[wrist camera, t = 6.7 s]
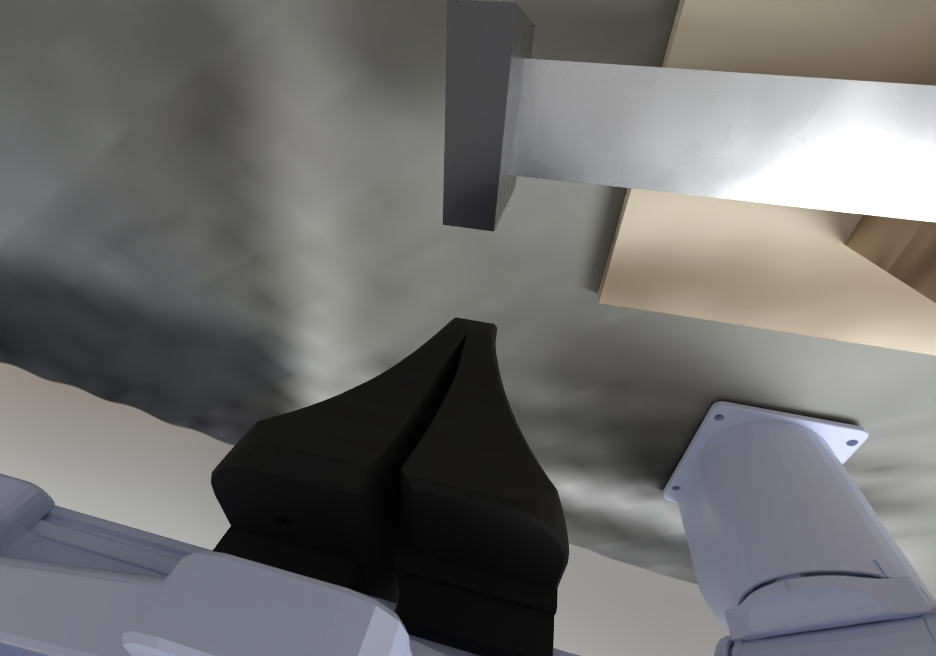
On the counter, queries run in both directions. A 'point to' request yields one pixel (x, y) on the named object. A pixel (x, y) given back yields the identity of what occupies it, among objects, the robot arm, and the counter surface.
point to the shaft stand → (778, 226)
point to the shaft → (672, 129)
